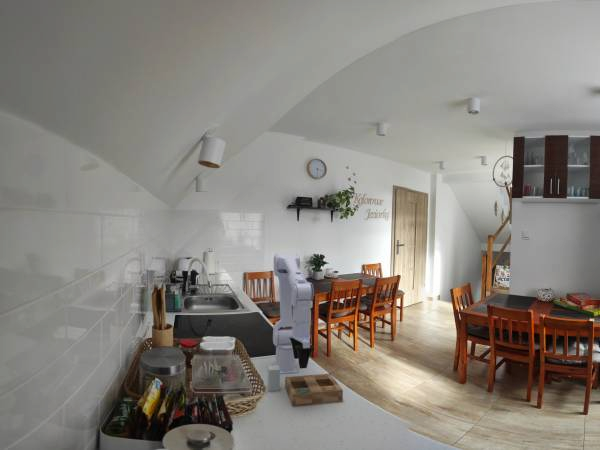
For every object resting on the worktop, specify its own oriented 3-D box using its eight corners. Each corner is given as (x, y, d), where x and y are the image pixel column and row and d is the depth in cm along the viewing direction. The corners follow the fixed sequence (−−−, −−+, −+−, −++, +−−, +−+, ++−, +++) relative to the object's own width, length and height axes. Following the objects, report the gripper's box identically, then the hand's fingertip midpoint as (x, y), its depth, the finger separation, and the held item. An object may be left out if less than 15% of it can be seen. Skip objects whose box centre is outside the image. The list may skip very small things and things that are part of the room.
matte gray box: (267, 386, 110) (267, 365, 110) (277, 385, 110) (278, 365, 111) (268, 391, 106) (269, 370, 106) (279, 390, 107) (280, 369, 107)
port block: (285, 387, 109) (285, 376, 109) (330, 383, 113) (330, 372, 113) (292, 406, 98) (292, 394, 98) (342, 401, 101) (342, 389, 101)
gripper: (285, 315, 111) (283, 355, 110) (294, 327, 97) (292, 373, 96) (305, 314, 112) (303, 353, 112) (316, 326, 98) (315, 371, 98)
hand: (300, 362), depth 104 cm, fingers open, 7 cm apart
